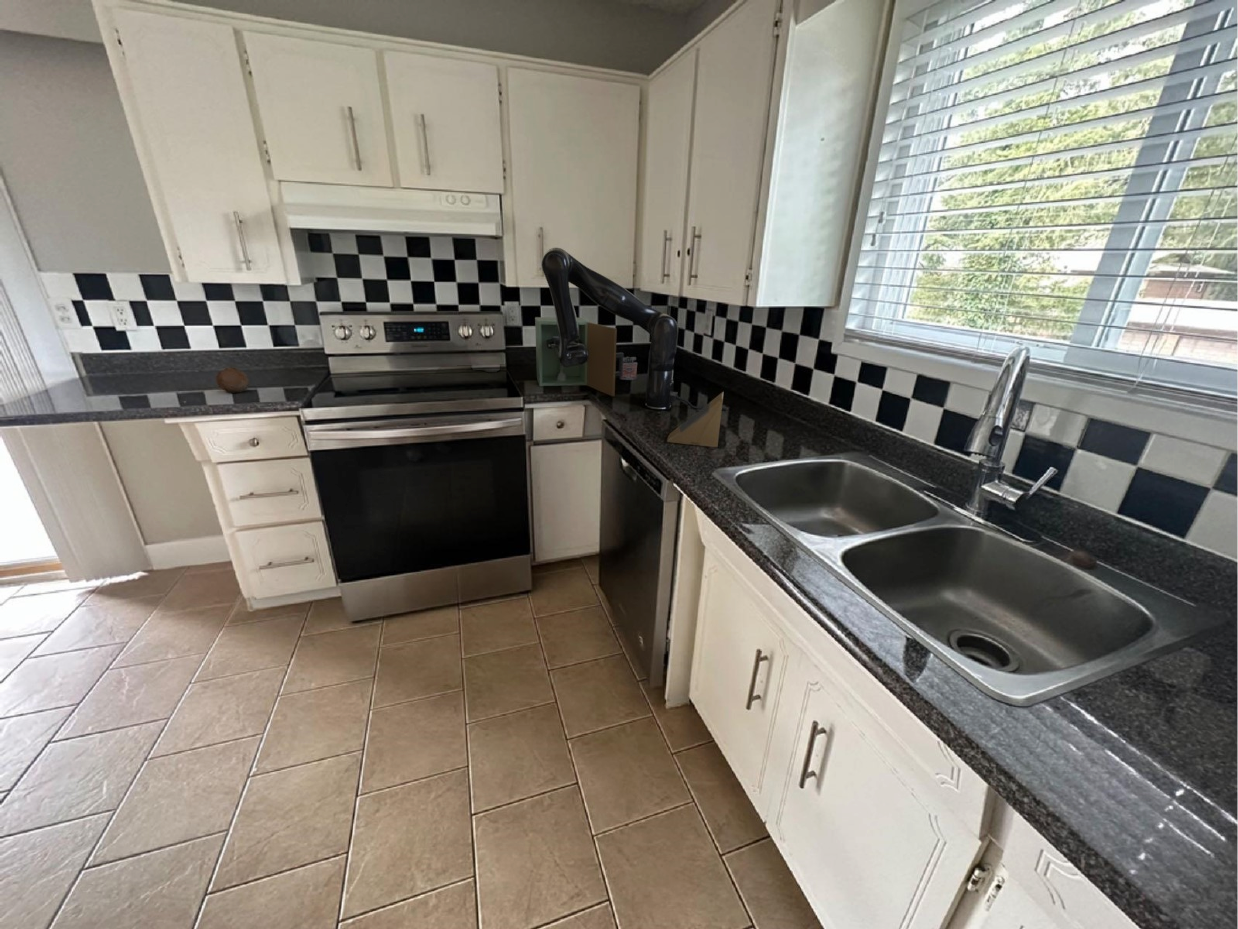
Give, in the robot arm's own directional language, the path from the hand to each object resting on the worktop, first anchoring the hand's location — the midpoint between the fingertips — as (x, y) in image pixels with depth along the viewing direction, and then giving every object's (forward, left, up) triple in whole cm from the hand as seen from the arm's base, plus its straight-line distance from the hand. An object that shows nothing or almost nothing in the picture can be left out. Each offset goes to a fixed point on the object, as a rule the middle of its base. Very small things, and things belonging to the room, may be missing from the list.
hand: (562, 341), depth 210 cm
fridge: (+1, -2, -18) cm, 18 cm away
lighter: (-24, -20, -18) cm, 36 cm away
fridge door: (-21, +4, -18) cm, 28 cm away
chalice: (+1, -2, -17) cm, 17 cm away
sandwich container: (-65, +52, -18) cm, 85 cm away
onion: (+104, +64, -18) cm, 124 cm away
